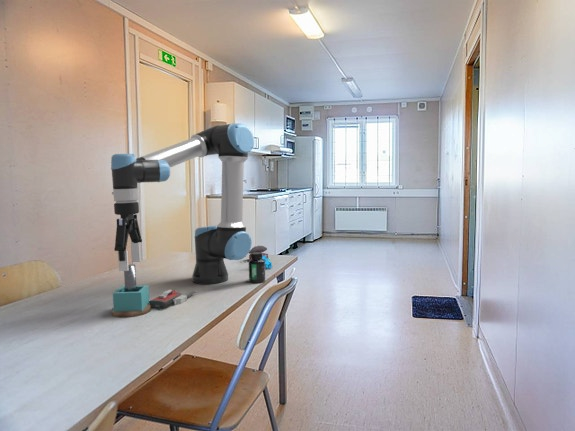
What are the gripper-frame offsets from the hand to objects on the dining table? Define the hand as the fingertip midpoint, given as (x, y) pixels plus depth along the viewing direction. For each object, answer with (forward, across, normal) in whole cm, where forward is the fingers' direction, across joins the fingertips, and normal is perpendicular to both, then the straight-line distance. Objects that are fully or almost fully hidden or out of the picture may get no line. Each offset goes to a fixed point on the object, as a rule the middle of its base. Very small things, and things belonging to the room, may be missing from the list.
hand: (130, 266), depth 146 cm
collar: (+14, 0, 0) cm, 14 cm away
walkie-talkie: (+16, -10, +11) cm, 22 cm away
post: (+14, 0, 0) cm, 14 cm away
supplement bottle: (+16, -36, +41) cm, 56 cm away
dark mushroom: (+17, -81, +41) cm, 92 cm away
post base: (+15, 0, 0) cm, 15 cm away
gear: (+17, -61, +44) cm, 77 cm away
